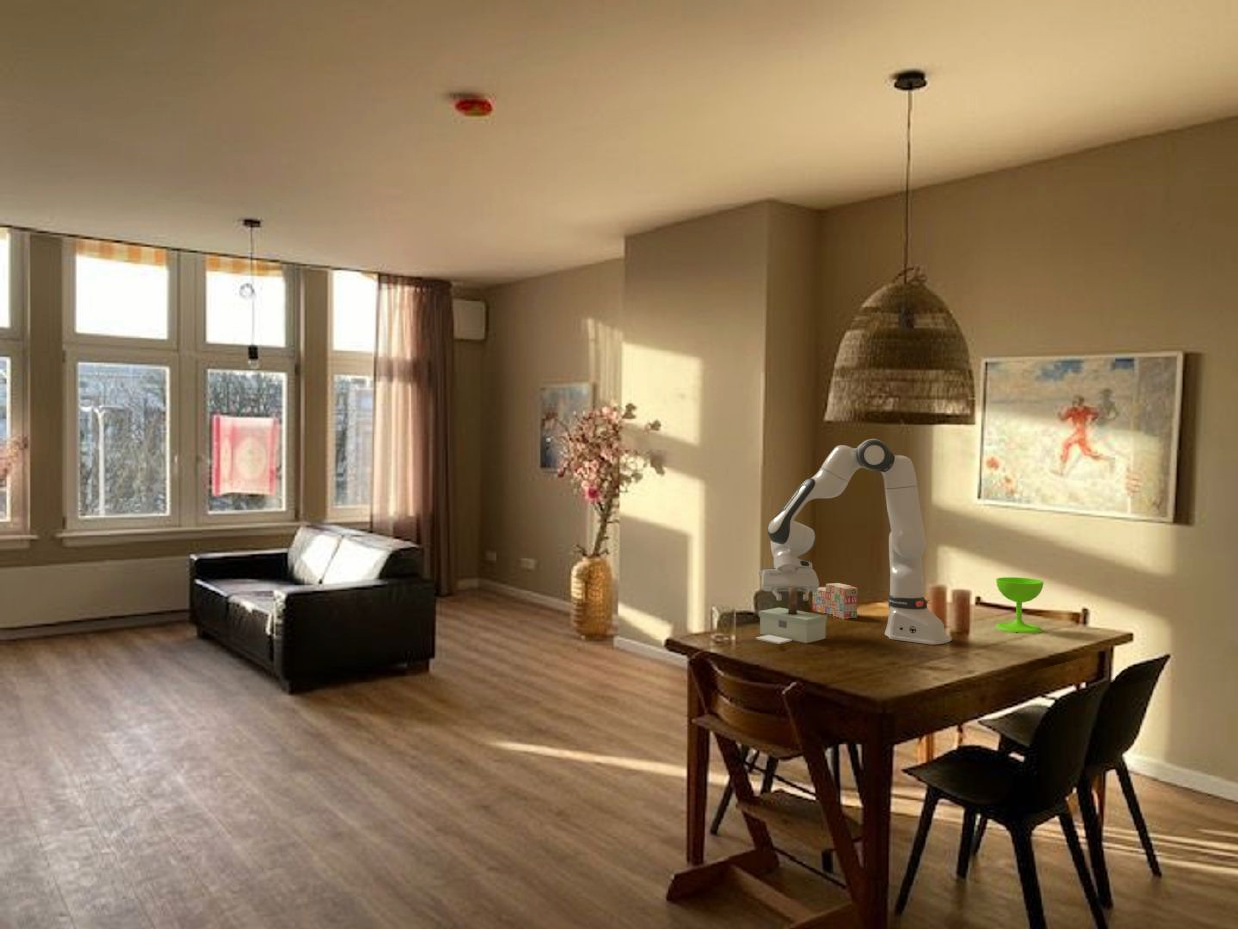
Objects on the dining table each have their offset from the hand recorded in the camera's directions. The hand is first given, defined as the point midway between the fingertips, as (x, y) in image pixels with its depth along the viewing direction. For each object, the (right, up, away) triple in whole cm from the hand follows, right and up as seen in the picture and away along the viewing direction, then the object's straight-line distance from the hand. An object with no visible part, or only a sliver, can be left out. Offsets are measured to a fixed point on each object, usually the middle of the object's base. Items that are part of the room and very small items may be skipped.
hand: (792, 599), depth 320 cm
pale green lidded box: (0, -13, +1) cm, 13 cm away
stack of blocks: (+25, -12, +43) cm, 51 cm away
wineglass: (+86, -13, +16) cm, 89 cm away
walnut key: (0, -7, 0) cm, 7 cm away
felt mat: (-8, -13, -7) cm, 17 cm away
